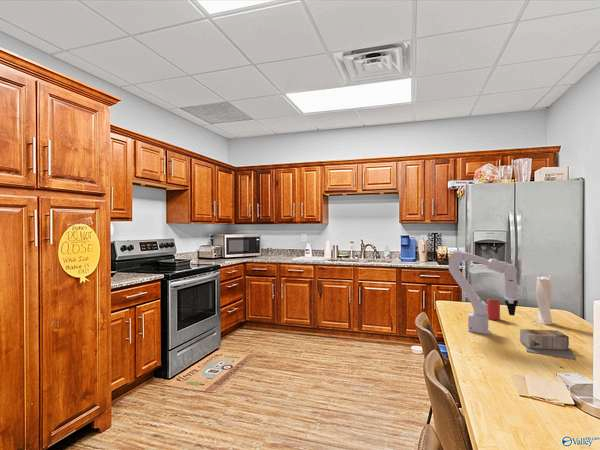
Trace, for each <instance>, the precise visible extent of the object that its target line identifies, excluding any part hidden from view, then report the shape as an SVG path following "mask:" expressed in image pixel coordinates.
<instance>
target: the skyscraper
mask: <svg viewBox="0 0 600 450" xmlns="http://www.w3.org/2000/svg"><path fill="white" fill-rule="evenodd" d="M535 284H536V285H535V286H536V287H535V296H536V303H537V307H538V308H537V314H536V320H533V322H534V323H538V324H540V323H541V325H545V326H548V325H555V323H553V321H552V314H551V309H550V307H551V304H552V299H553V285H552V275H551V274H549V275H548V277H547V276H541V277H539V276H537V279H536V283H535Z"/></svg>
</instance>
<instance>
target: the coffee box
mask: <svg viewBox="0 0 600 450" xmlns="http://www.w3.org/2000/svg"><path fill="white" fill-rule="evenodd" d="M569 341H570V338H569V335H566V334H564V333H563V332H561V331H558V330H549V329H547V330H546V329H531V328H529V329H528V328H526V329H525V328H520V329H519V342H520V343H522V344H523V345H524V346H525V347H526V346H527V347H528V348H538V349H555V350H568V348H569V346H570V344H569V343H570V342H569Z"/></svg>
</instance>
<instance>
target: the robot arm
mask: <svg viewBox="0 0 600 450" xmlns="http://www.w3.org/2000/svg"><path fill="white" fill-rule="evenodd" d="M469 261H471V262H474V263H477V264H480V265H484V266H486V267H487V269H488V270H491V271H493V272H496V273H500V274H503V275H504V278H503V287H504V288H503V290H504V293H503V294H504V298H503V299H505V300H504V303H505V305H506V307H507V311H508V315H509V316H514V317H515V313H516V308H517V305H518V304H519V300H521V296H519V294H518V279H517V277H518V276H517V274H518V269H517V267H516V266H515V265H513V264H512V263H509V262H507V261H502V260H498V258H496V257H495V258H489V259H487V258H484V257H481V256H479V255H476V254H474V253H471V252H467V251H462V250H458V249H457V250H453V251H452V252H451V253H450V255H449V257H448V272H449V273H450V274H451V276H452V277H453V279H454V281H455V282H456V283H457V285H458V286H459V288H460V289H461V290H462V291H463V293H464V294H465V297H467V299H468V300H469V302H470V304H471V306H472V308H473V311H472V313H471V312H469V313H468V315H467V317H468V318H467V320H468V321H467V322H468V324H467V329H468V330H467V331H468V332H470V333H475V334H476V333H478V334H484V335H489V334H490V329H489V319H488V314H487V302H486V301H484V300H482V299H481V297H480V296H479V295H478V294H477V292H476V291H475V290H474V288H473V287H472V285H471V284H470V283H469V281H468V280H467V278H466V277H465V276H464V274H463V273H462V271H461V270H460V267H461V263H462V262H469Z"/></svg>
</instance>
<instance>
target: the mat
mask: <svg viewBox="0 0 600 450" xmlns="http://www.w3.org/2000/svg"><path fill="white" fill-rule="evenodd" d="M525 347H526V352H527V353H531V354H536V355H537V354H538V355H544V356H549V357H550V356H551V357H555V358H563V359H569V360H575V361H576V360H577V358H576V355H575V354H574V352H573V350H572V348H569V347H568V350H555V349H538V348H528V347H527V346H525Z"/></svg>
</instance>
